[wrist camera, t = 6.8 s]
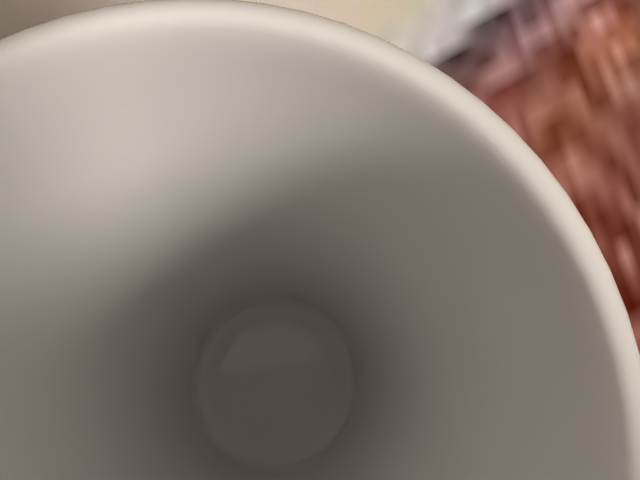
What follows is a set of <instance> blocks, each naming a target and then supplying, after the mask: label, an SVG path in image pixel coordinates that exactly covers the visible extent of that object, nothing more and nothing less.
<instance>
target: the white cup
mask: <svg viewBox="0 0 640 480" xmlns="http://www.w3.org/2000/svg"><path fill="white" fill-rule="evenodd" d="M0 480H640V353H639V350H638V347H637V343H636V340H635V336H634V333H633V330H632V326H631V323H630V320H629V316H628V313H627V310H626V308H625V305H624V303H623V300H622V298H621V295H620V293H619V290H618V288H617V285H616V283H615V280H614V278H613V275H612V273H611V270H610V268H609V266H608V264H607V262H606V260H605V258H604V256H603V254H602V252H601V251H600V249H599V247H598V245H597V243H596V241H595V239H594V237H593V235H592V233H591V231H590V229H589V228H588V226H587V225H586V223H585V221H584V220H583V218H582V217H581V215H580V213H579V212H578V210H577V209H576V207H575V205H574V204H573V202H572V201H571V199H570V197H569V196H568V194H567V193H566V192H565V190H564V189H563V188H562V186H561V185H560V184H559V182H558V181H557V180H556V179H555V177H554V176H553V175H552V173H551V172H550V171H549V169H548V168H547V167H546V165H545V164H544V163H543V161H542V160H541V159H540V158H539V157H538V156H537V155H536V154H535V153H534V151H533V150H532V149H531V148H530V147H529V146H528V145H527V144H526V143H525V142H524V141H523V139H522V138H521V137H520V136H519V135H518V134H517V133H516V132H515V131H514V130H513V129H512V128H511V127H510V126H509V125H508V124H507V123H506V122H505V121H503V120H502V119H501V118H500V117H499V116H498V115H497V114H496V113H495V112H494V111H492V110H491V109H490V108H489V107H488V106H487V105H486V104H485V103H484V102H483V101H481V100H480V99H479V98H477V97H476V96H475V95H473V94H472V93H471V92H469V91H468V90H467V89H465V88H464V87H463V86H461V85H460V84H459V83H457V82H456V81H455V80H453V79H452V78H451V77H449V76H448V75H446V74H445V73H443V72H441V71H440V70H438V69H436V68H435V67H433V66H432V65H430V64H428V63H427V62H425V61H424V60H422V59H420V58H419V57H417V56H416V55H414V54H412V53H410V52H408V51H406V50H404V49H402V48H400V47H398V46H396V45H394V44H392V43H390V42H388V41H386V40H384V39H382V38H380V37H377V36H375V35H372V34H370V33H367V32H365V31H362V30H360V29H357V28H355V27H352V26H350V25H347V24H345V23H342V22H338V21H335V20H332V19H328V18H325V17H322V16H318V15H315V14H312V13H308V12H305V11H300V10H295V9H290V8H285V7H280V6H275V5H271V4H265V3H257V2H248V1H239V0H145V1H138V2H131V3H125V4H118V5H111V6H105V7H100V8H96V9H92V10H88V11H83V12H79V13H75V14H71V15H66V16H63V17H60V18H57V19H54V20H51V21H48V22H45V23H42V24H39V25H35V26H32V27H29V28H26V29H24V30H21V31H19V32H17V33H14V34H12V35H10V36H7V37H5V38H3V39H0Z"/></svg>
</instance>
